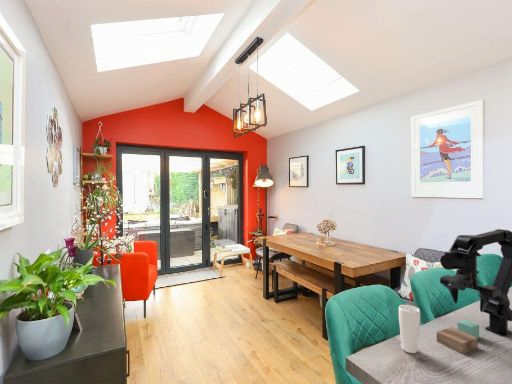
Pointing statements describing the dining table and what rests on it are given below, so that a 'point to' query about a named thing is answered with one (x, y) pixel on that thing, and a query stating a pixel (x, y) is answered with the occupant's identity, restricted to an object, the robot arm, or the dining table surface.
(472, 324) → the teal cube
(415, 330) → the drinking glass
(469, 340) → the walnut block
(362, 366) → the dining table surface
